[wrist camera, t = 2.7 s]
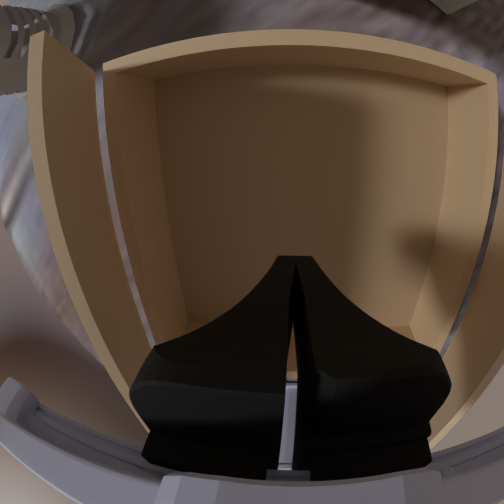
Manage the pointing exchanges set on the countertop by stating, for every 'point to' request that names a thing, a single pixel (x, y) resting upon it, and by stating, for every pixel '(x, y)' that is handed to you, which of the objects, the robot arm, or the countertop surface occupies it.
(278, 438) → the robot arm
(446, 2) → the supplement box
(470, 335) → the flap
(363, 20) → the countertop surface
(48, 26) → the french press
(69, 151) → the flap
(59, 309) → the countertop surface
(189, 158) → the carton
